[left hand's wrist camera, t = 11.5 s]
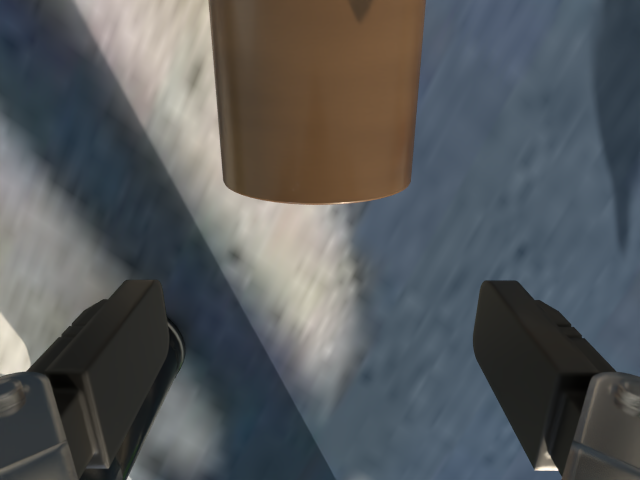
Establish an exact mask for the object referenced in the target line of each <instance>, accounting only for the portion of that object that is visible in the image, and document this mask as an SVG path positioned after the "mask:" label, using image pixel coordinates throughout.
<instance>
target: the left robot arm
mask: <svg viewBox="0 0 640 480" xmlns="http://www.w3.org/2000/svg"><path fill="white" fill-rule="evenodd" d="M473 348H474V353H475V357H476V359H477V361H478V363H479V365H480V367H481V369H482V371H483V373H484V375H485V377H486V379H487V380H488V382H489V384H490V386H491V388H492V390H493V392H494V394H495V396H496V398H497V399H498V401H499V403H500V405H501V407H502V409H503V411H504V413H505V415H506V417H507V418H508V420H509V422H510V424H511V426H512V428H513V430H514V432H515V434H516V436H517V437H518V439H519V441H520V443H521V445H522V447H523V449H524V451H525V453H526V455H527V456H528V458H529V460H530V462H531V464H532V466H533V468H534V470H558V471H559V472H560V474H561V476H562V480H640V377H638V376H635V375H632V374H627V373H622V372H616V371H615V370H614V369H613V368H612V366H611V365H610V364H609V363H608V362H607V361H606V360H605V359H604V358H603V357H602V356H601V355H600V354H599V353H598V352H597V351H596V350H595V349H594V348H593V347H592V346H591V345H590V344H589V342H588V341H587V340H586V339H585V338H582V335H581V334H580V333H579V332H578V331H577V330H576V329H575V328H574V327H571V324H570V323H569V322H568V321H567V320H566V318H565V317H564V316H563V315H562V314H561V313H560V312H559V311H557V310H555V309H554V308H552V307H550V306H549V305H547V304H545V303H543V302H542V301H540V300H534V299H533V298H532V297H531V296H530V294H529V293H528V292H527V291H526V290H525V289H524V288H523V287H522V286H521V284H520V283H519V282H517V281H484V282H483V283H482V285H481V288H480V293H479V300H478V306H477V313H476V319H475V326H474V332H473ZM184 358H185V344H184V341H183V338H182V335H181V334H180V332H179V330H178V329H177V327H176V326H175V325H174V324H173V323H172V322H171V321H170V320H169V319H168V318H167V316H166V310H165V303H164V296H163V290H162V286H161V283H160V282H159V281H158V280H126V281H124V282H123V283H122V285H121V286H120V287H119V288H118V289H117V290H116V291H115V292H114V294H113V295H112V296H111V297H110V298H109V299H103V300H101V301H100V302H98V303H96V304H95V305H93V306H91V307H89V308H88V309H86V310H84V311H83V312H82V313H81V314H80V316H79V317H78V318H77V319H76V320H75V321H74V322H73V323H72V326H69V327H68V328H67V329H66V330H65V331H64V332H63V333H62V336H61V337H59V338H58V339H57V340H56V341H55V342H54V343H53V344H52V345H51V346H50V347H49V348H48V349H47V350H46V351H45V352H44V353H43V355H42V356H41V357H40V358H39V359H38V360H37V361H36V362H35V363H34V364H33V365H32V366H31V367H30V368H29V369H28V370H27V371H26V372H18V373H13V374H8V375H5V376H2V377H0V480H127V478H128V475H129V473H130V471H131V469H132V467H133V465H134V463H135V461H136V459H137V456H138V454H139V452H140V450H141V448H142V446H143V444H144V442H145V439H146V437H147V435H148V433H149V431H150V429H151V427H152V425H153V423H154V420H155V418H156V416H157V414H158V412H159V410H160V408H161V406H162V404H163V401H164V399H165V397H166V395H167V393H168V391H169V389H170V387H171V385H172V383H173V381H174V378H175V377H176V375H177V373H178V372H179V370H180V368H181V366H182V364H183V361H184Z"/></svg>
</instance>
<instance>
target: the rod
mask: <svg viewBox="0 0 640 480" xmlns="http://www.w3.org/2000/svg"><path fill="white" fill-rule="evenodd" d="M425 4H426V0H209V11H210V24H211V36H212V48H213V60H214V73H215V85H216V97H217V109H218V122H219V134H220V146H221V159H222V171H223V181H224V183H225V185H226V186H227V187H228V188H229V189H231V190H232V191H234V192H236V193H239V194H241V195H244V196H248V197H251V198H255V199H260V200H265V201H271V202H279V203H288V204H306V205H331V204H347V203H357V202H364V201H370V200H375V199H380V198H384V197H387V196H391V195H394V194H396V193H399V192H401V191H402V190H404V189H405V188H407V187H408V185H409V184H410V182H411V172H412V160H413V148H414V136H415V124H416V112H417V100H418V88H419V76H420V64H421V52H422V40H423V28H424V16H425Z"/></svg>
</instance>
